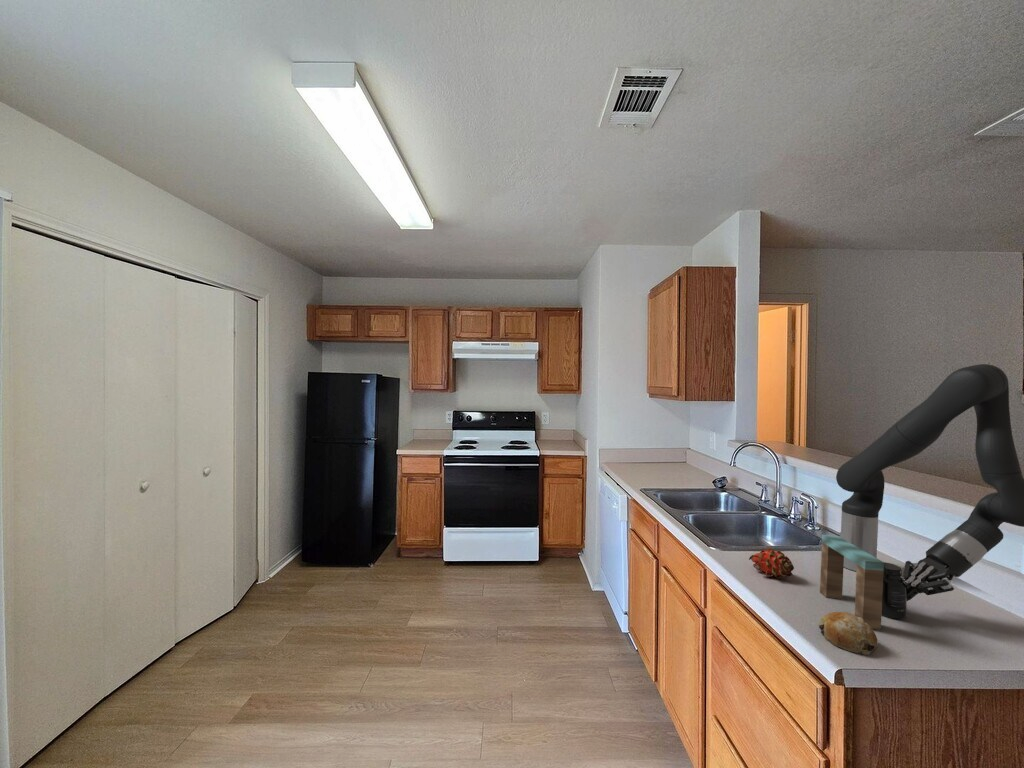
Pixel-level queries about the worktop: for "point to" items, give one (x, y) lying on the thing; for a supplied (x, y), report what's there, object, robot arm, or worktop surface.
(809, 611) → the worktop surface
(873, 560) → the gate
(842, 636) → the bread roll
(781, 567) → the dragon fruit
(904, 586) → the supplement bottle
